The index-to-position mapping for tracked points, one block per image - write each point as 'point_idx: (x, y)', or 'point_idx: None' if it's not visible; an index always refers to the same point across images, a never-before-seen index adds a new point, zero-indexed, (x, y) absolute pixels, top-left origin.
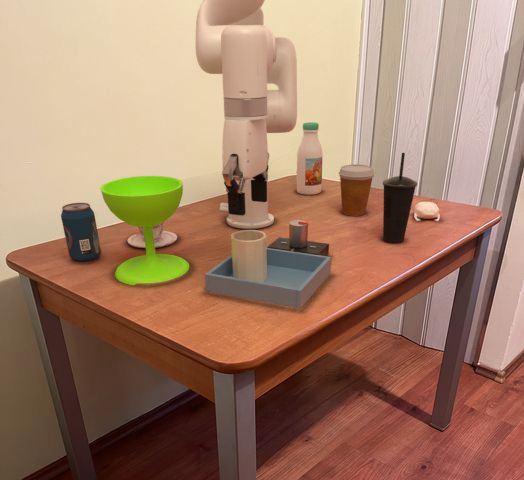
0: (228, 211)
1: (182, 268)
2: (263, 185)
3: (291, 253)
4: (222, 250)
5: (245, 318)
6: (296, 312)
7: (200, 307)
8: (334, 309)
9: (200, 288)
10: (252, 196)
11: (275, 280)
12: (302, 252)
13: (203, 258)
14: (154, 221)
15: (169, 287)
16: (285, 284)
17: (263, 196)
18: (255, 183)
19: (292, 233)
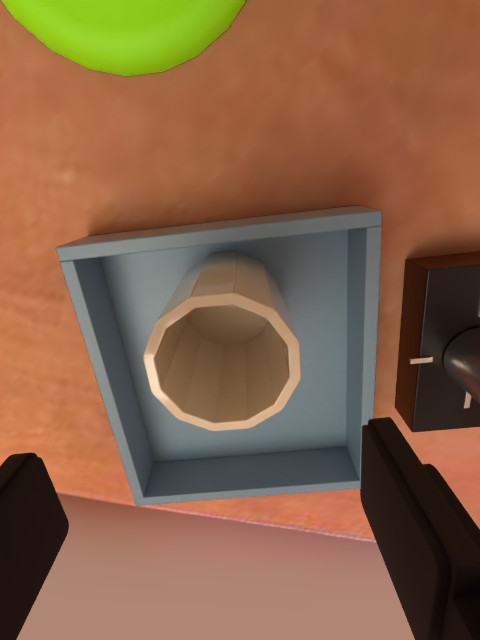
0: (5, 460)
1: (155, 38)
2: (411, 615)
3: (361, 390)
4: (449, 34)
5: (50, 393)
6: None
7: (15, 274)
8: (195, 506)
9: (105, 195)
10: (373, 448)
11: None
12: (415, 388)
13: (335, 12)
14: None
15: (44, 87)
16: None
17: (372, 524)
18: (425, 575)
19: (477, 374)
